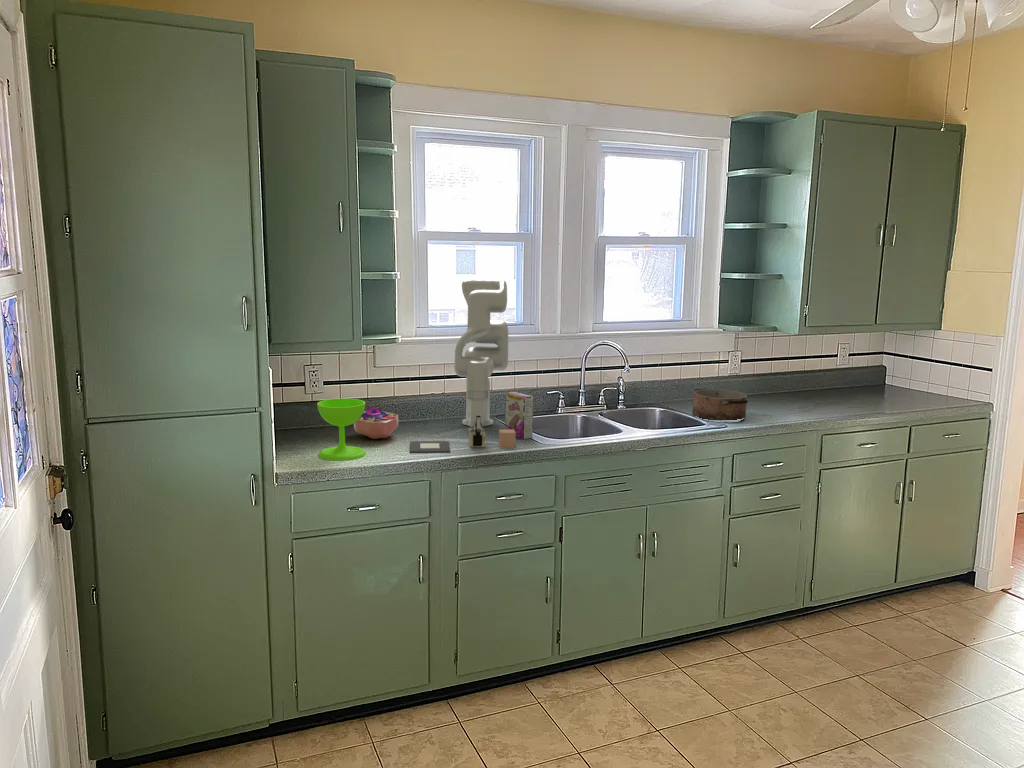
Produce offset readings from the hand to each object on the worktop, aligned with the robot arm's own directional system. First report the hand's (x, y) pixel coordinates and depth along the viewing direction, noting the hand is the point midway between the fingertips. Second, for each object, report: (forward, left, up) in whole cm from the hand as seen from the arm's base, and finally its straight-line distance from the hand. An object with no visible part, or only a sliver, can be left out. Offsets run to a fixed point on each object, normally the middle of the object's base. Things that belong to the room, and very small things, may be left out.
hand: (476, 443), depth 281 cm
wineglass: (+10, -47, -1) cm, 48 cm away
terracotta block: (0, +11, -1) cm, 11 cm away
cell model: (-14, -37, -1) cm, 40 cm away
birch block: (0, 0, -1) cm, 1 cm away
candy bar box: (-14, +17, -1) cm, 22 cm away
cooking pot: (-45, +109, -1) cm, 118 cm away
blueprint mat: (+2, -17, -1) cm, 17 cm away
